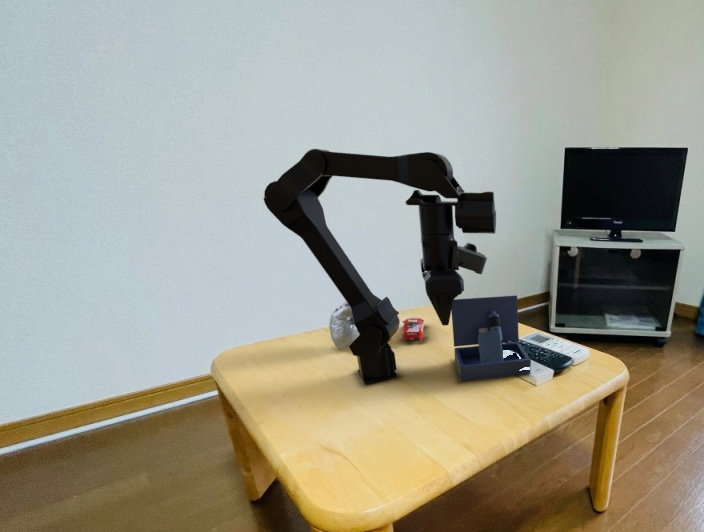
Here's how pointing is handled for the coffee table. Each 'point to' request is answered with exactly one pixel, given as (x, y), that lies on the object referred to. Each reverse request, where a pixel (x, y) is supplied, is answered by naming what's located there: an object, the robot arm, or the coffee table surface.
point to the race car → (413, 329)
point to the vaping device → (491, 341)
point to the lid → (483, 318)
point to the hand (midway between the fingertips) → (442, 316)
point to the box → (490, 363)
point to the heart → (342, 327)
